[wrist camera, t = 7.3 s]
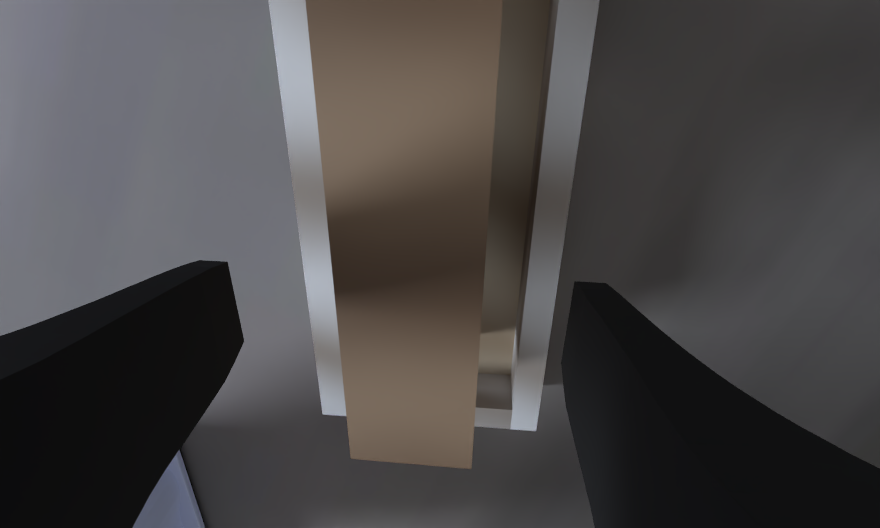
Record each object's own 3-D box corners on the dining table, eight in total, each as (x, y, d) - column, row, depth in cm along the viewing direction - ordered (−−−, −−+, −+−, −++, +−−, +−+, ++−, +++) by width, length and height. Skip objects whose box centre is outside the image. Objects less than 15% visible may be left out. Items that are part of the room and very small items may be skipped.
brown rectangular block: (476, 333, 20) (471, 468, 14) (390, 328, 20) (350, 458, 14) (498, -8, 14) (503, -14, 8) (377, -10, 14) (303, -17, 9)
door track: (537, 386, 22) (542, 431, 19) (334, 371, 22) (316, 413, 20) (609, -136, 13) (635, -165, 11) (279, -135, 14) (237, -162, 11)
